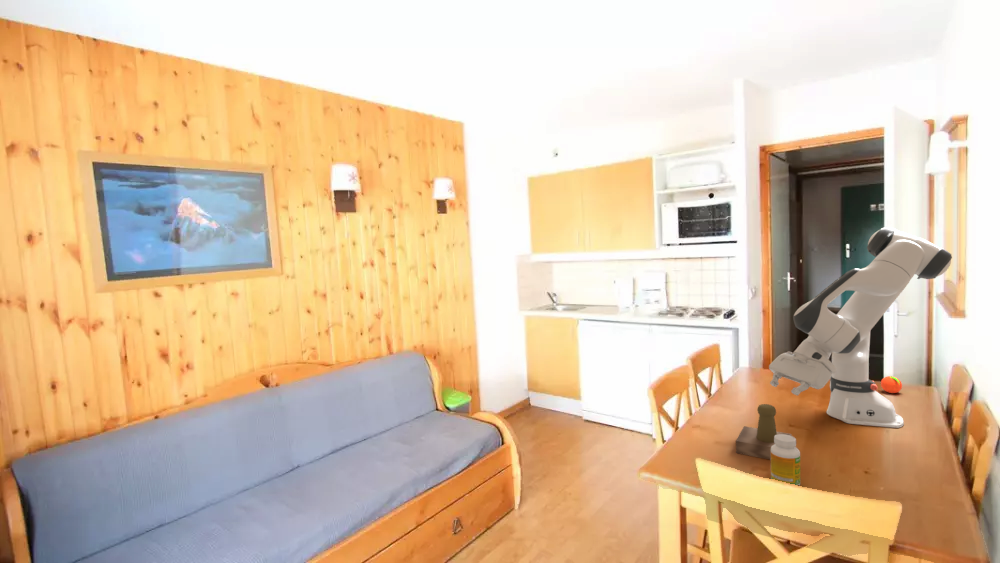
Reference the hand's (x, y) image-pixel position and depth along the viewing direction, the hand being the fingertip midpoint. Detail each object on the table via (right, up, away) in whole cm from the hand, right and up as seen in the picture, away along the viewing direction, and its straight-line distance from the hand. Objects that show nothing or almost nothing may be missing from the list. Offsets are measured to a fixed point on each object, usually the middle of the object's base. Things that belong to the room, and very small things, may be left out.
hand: (783, 389), depth 157 cm
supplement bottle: (-12, -21, -22) cm, 33 cm away
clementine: (+71, -12, +44) cm, 84 cm away
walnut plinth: (-7, -19, -1) cm, 20 cm away
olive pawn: (-7, -15, -3) cm, 17 cm away
